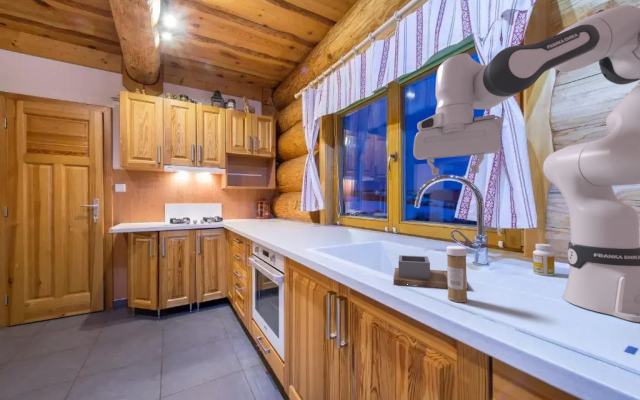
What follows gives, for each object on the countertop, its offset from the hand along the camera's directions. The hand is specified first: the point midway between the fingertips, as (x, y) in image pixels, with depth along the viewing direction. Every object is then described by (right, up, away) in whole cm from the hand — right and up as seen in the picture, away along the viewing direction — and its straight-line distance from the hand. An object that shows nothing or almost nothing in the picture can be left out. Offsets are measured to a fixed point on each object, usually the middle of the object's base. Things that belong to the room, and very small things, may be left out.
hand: (454, 173), depth 69 cm
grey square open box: (-5, -31, +16) cm, 35 cm away
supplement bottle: (+39, -32, +18) cm, 53 cm away
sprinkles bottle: (0, -32, -2) cm, 32 cm away
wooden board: (-1, -32, +15) cm, 35 cm away
